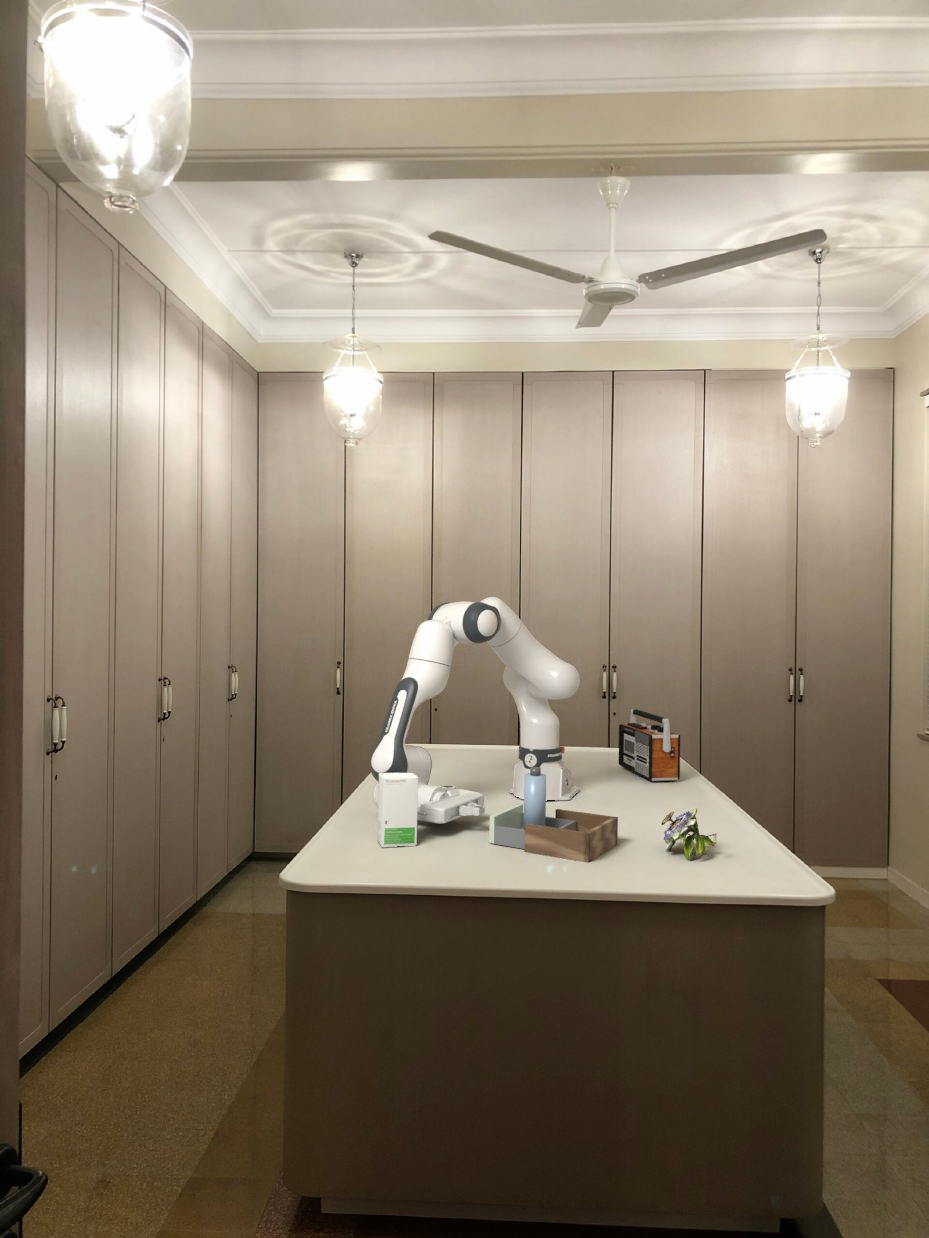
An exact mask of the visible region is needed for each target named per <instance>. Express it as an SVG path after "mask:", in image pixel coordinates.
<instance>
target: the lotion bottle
mask: <svg viewBox="0 0 929 1238" xmlns="http://www.w3.org/2000/svg"><path fill="white" fill-rule="evenodd" d="M546 809H547V801H546V775H545V774H541V768H539V767H531V768H530V773H527V774H524V799H523V813H524V823H523V830H525V824H526V823H527V824H534V825H541V826H545V819H546V817H547V816H546V815H547V814H546V813H547V812H546Z"/></svg>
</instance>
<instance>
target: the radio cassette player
mask: <svg viewBox="0 0 929 1238" xmlns="http://www.w3.org/2000/svg"><path fill="white" fill-rule="evenodd" d="M637 716H639V717H642V718H644V719H648V720H650V721H653V722H657V723H660V724H663V726H661V725H658V724H647V723H645V722H642V723H637ZM629 719H630V720H629V722H627V723H621V724H618V765H619V766H621V767H622V768H624V770H627V771H629V772H632V773H634V774H636V775H638V776H639V777H641V778H643V779H646V780H647V781H649V782H650V783H654V782H670V781H678V780H679V781H680V777H681V735H680V734H678V733H674V732H672V731H671V727H670V719H669V718H666V717H663V716H661V715H660V716H659V715H657V714H653V713H650V712H647V711H643V710H640V709H636V708H632V709H631V710H630V718H629Z"/></svg>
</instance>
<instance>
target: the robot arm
mask: <svg viewBox="0 0 929 1238" xmlns="http://www.w3.org/2000/svg"><path fill="white" fill-rule="evenodd" d="M484 643H487V644H488V645H489V647H490V648H491V649H492V650H493V652H494V653H495V655H496V656H497V657H498V658H499V660H500V661H501V662H502V663H503V664H504V665H505V668H504V669H503V674H502V680H503V683H504V687H505V688H506V690H508V691H509V692H510V695H512V697H513V700H514V702H515V705H516V708H517V712H518V717H519V723H520V724H519V726H520V727H519V730H520V731H519V732H520V737H519V738H520V739H519V740H520V741H519V742H520V745H519V746H518V753H517V754H518V759H519V760H518V762H516V764H515V765H514V772H513V782H512V784H513V785H512V788H509V791H508V793H509V792H511V793H513V794H514V795H513V794H512V795H513V796H514V797H515V796H516V797H515V798H517V797H519V798H518V799H520V800H524V774H527V773H530V768H531V767H539V768H541V774H545V775H546V802H548V801H547V800H555V801H570V800H572V799H573V798H574V797H575V796H576V795H577V794H578V793H579V792H580V791H579V790H580V789H581V788H580V787H579V786H577V785H574V784H572V783H573V782H572V781H573V780H572V779H573V777H572V775H573V774H572V771H571V769H570V768H569V767H568V766H567V765H566V763H565V762H564V761H563V760H562V759H563V755H562V754H565V752H566V751H565V750H566V747H565V746H564V745H562V746H560V725H561V724H560V720H559V717H558V716H557V714H555V713H554V711H553V710H552V709H551V707H550V706H551V705H550V704H549V701H548V700H555V701H556V700H557V701H558V700H563V699H570V698H571V697H573V696H575V694H576V693H577V692H578V690H579V687H580V682H581V681H580V680H581V678H580V674H579V672H578V670H577V668H576V667H575V666H574V665H573V664H570V663H569V662H566V661H565V660H563V659H562V658H560V657H558V656H557V655H556V654H555V653H553V652H552V651H550V649H548V648H546V646H544V645H543V644H542V643H540V641H539V640H537V638H536V637H534V635H533V634H532V633H531V631H530V630H529V629H528V628H527V627H526V625H525V624H524V623H523V621H522V620H521V618H520V617H519V616H518V615H517V614H516V613H515V611H514V610H513V609H512V608H511V607H510V606H508V604H506V603H505V602H504V601H503V600H502V599H500V598H498V597H497V596H489V597H486V598H484V599H482V600H481V601H468V600H467V601H464V600H462V601H455V602H454V601H453V602H443V603H441V604H437V605H436V606H435V607H434V608H432V610H431V611H430V613H429V615H428V618H427V620H425V621H423V622H421V623H420V624H419V626H418V628H417V629H416V632H415V635H414V637H413V640H412V644H411V647H410V651H409V654H408V659H407V663H406V664H407V665H406V668H405V670H404V673H403V675H402V677H401V680H400V681H399V682H398V683H397V685H396V687H395V689H394V692H393V694H392V696H391V700H390V703H389V707H388V710H387V713H386V717H385V719H384V722H383V726H382V729H381V733H380V735H379V737H378V740H377V741H376V743H375V745H374V747H373V749H372V750H371V752H370V756H369V760H368V762H369V763H368V766H369V771H370V772H371V775H372V777H373V778H374V779H375V780H376V782H377V783H376V784H375V786H374V789H373V793H372V795H373V801H374V804H375V807H376V809H378V794H379V773H413V774H415V775H416V776H417V777H418V808H417V821H421V822H424V823H425V822H426V823H432V824H441V825H442V824H446V823H449V822H451V821H454V820H457V819H460V818H462V817H465V816H476V817H479V816H480V815H484V814H485V812H486V807H485V806H484V805H485V796H484V794H482V793H481V792H478V791H474V790H473V791H472V790H469V789H463V788H457V787H456V785H455V786H454V785H435V784H429V783H430V782H429V781H430V778H431V773H432V769H433V760H432V757H431V755H430V753H429V751H428V750H427V749H426V748H424V747H423V746H419V745H414V744H413V745H412V744H406V738H407V735H408V732H409V729H410V726H411V723H412V720H413V716H414V713H415V711H416V710H417V708H418V707H419V706H420V705H421V704H422V703H424V702H425V701H428V700H430V699H433V698H435V697H437V696H439V695H440V694H441V693H442V692H443V691H444V690H445V688H446V686H447V683H448V681H449V677H450V673H451V666H452V662H453V654H454V650H455V648H456V646H457V645H458V644H459V645H461V644H484ZM511 793H510V794H511ZM576 793H577V794H576ZM575 794H576V795H575ZM573 796H574V797H573ZM572 797H573V798H572Z"/></svg>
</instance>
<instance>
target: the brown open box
mask: <svg viewBox="0 0 929 1238" xmlns="http://www.w3.org/2000/svg"><path fill="white" fill-rule="evenodd" d="M554 816H555V817H554V818H560V819H567V820H574V821H577V825H576V831H574V830H567V829H561V828H554V827H547V826H541V825H534V824H527V823H526V824H525V834H524V849H523V850H524V851H525V852H524V853H529V854H530V853H531V854H535V853H536V855H541V854H542V855H543V856H547V855H549V857H554V858H559V859H560V858H561V859H565V858H566V860H571V859H573V860H572V861H577V862H578V861H579V862H582V863H583V862H585V863H591V860H592V861H593V860H595V859H596V858H598V857H600V854H601V855H602V854H604V853H606V852H607V851H608V850H610V849H611V848H614V847H615V845H618V841H619V840H618V829H619V823H618V822H619V817H618V816H611V815H606V814H605V815H604V814H599V813H598V814H597V813H589V812H582V811H575V810H568V809H560V808H556V809H555V815H554ZM609 848H610V849H609ZM594 858H595V859H594Z"/></svg>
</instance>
